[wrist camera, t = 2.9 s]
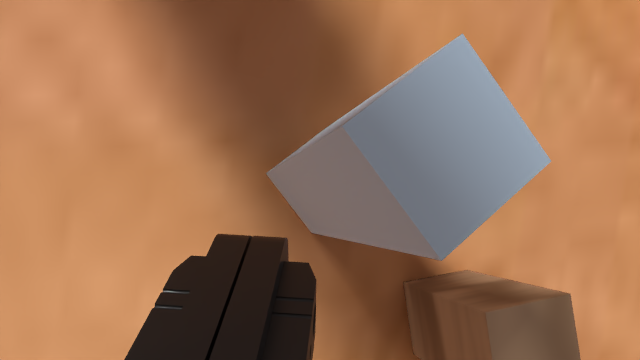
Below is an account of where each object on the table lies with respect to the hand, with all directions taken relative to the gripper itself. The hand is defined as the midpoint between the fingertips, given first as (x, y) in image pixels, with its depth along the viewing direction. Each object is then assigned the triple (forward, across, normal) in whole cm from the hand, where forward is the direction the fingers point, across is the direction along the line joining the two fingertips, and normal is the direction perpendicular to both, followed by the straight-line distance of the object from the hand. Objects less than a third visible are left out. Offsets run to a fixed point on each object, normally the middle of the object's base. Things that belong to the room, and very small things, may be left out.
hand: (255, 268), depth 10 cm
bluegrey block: (+20, 0, +8) cm, 22 cm away
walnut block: (+18, -9, +17) cm, 26 cm away
